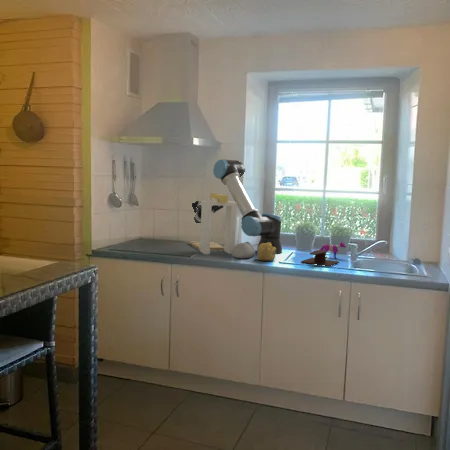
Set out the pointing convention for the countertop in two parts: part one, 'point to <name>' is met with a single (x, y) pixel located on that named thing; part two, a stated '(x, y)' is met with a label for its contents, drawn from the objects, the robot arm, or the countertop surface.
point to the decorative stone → (243, 250)
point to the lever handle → (319, 259)
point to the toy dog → (333, 248)
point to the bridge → (229, 225)
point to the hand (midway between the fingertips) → (211, 199)
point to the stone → (266, 252)
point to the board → (212, 245)
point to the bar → (219, 197)
